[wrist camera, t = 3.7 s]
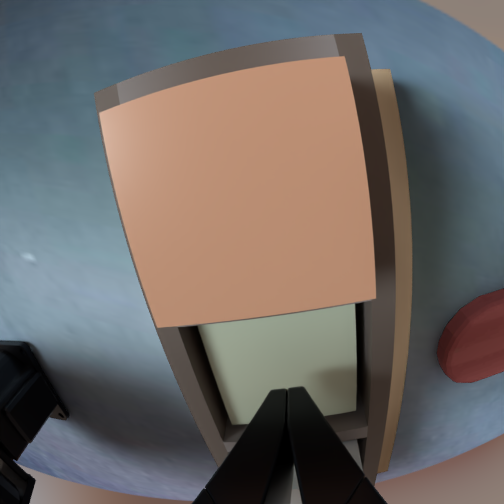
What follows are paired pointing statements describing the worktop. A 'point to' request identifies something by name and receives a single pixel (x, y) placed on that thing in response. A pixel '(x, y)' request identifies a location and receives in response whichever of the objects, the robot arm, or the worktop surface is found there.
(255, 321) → the sage key
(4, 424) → the robot arm
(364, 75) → the brown long open box
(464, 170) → the worktop surface
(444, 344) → the popsicle
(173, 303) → the terracotta key
